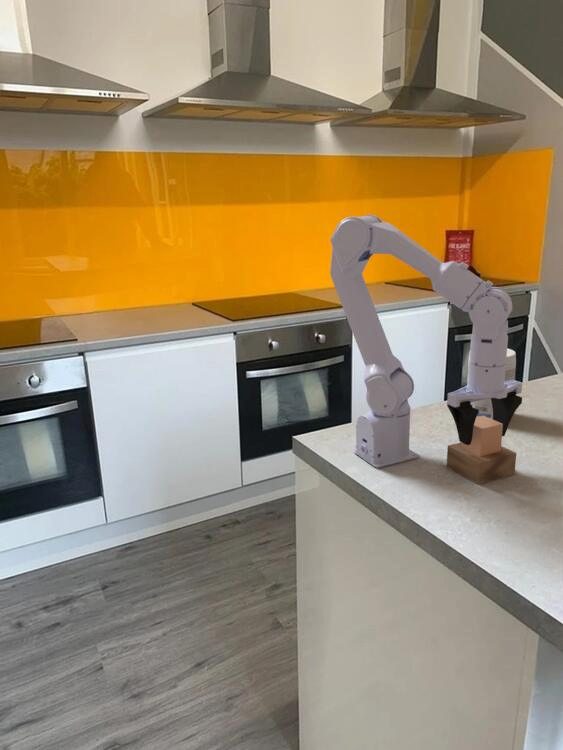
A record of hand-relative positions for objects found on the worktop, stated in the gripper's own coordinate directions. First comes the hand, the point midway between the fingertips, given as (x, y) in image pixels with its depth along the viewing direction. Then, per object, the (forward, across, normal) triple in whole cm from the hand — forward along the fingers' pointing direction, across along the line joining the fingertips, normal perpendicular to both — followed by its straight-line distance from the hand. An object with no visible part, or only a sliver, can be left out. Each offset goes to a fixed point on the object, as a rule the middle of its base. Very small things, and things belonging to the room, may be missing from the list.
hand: (482, 438), depth 101 cm
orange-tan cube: (+2, 0, 0) cm, 2 cm away
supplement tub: (+6, +20, +19) cm, 28 cm away
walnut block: (+6, 0, 0) cm, 6 cm away
